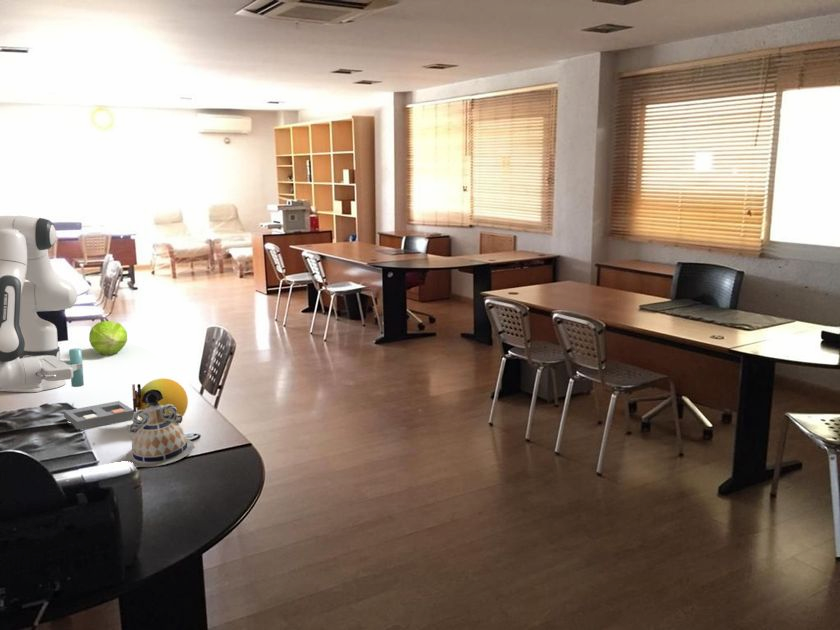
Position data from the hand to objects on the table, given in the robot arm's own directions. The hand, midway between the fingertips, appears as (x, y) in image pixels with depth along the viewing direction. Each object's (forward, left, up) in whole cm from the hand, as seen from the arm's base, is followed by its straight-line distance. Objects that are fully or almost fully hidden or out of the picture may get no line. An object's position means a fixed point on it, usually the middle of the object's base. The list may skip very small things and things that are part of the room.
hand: (79, 364), depth 221 cm
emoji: (+29, -17, -16) cm, 37 cm away
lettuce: (-16, +84, -16) cm, 87 cm away
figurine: (+34, -41, -16) cm, 56 cm away
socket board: (+8, -10, -16) cm, 20 cm away
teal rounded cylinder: (-1, 0, -7) cm, 7 cm away
